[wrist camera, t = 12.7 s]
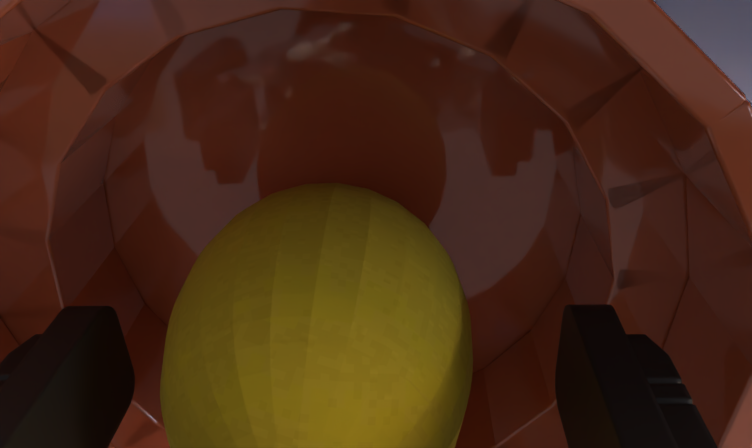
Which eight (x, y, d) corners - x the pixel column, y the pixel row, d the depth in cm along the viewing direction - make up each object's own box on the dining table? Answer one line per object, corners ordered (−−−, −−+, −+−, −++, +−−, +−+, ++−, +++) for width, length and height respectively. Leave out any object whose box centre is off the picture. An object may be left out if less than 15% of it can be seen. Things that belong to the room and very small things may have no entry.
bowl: (463, -330, 11) (520, -517, 5) (744, 302, 17) (901, 501, 11) (-101, 126, 15) (-369, 263, 10) (282, 493, 21) (242, 700, 16)
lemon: (214, 296, 16) (74, 613, 9) (247, 97, 14) (88, 333, 7) (418, 344, 17) (428, 677, 10) (489, 161, 14) (571, 441, 7)
